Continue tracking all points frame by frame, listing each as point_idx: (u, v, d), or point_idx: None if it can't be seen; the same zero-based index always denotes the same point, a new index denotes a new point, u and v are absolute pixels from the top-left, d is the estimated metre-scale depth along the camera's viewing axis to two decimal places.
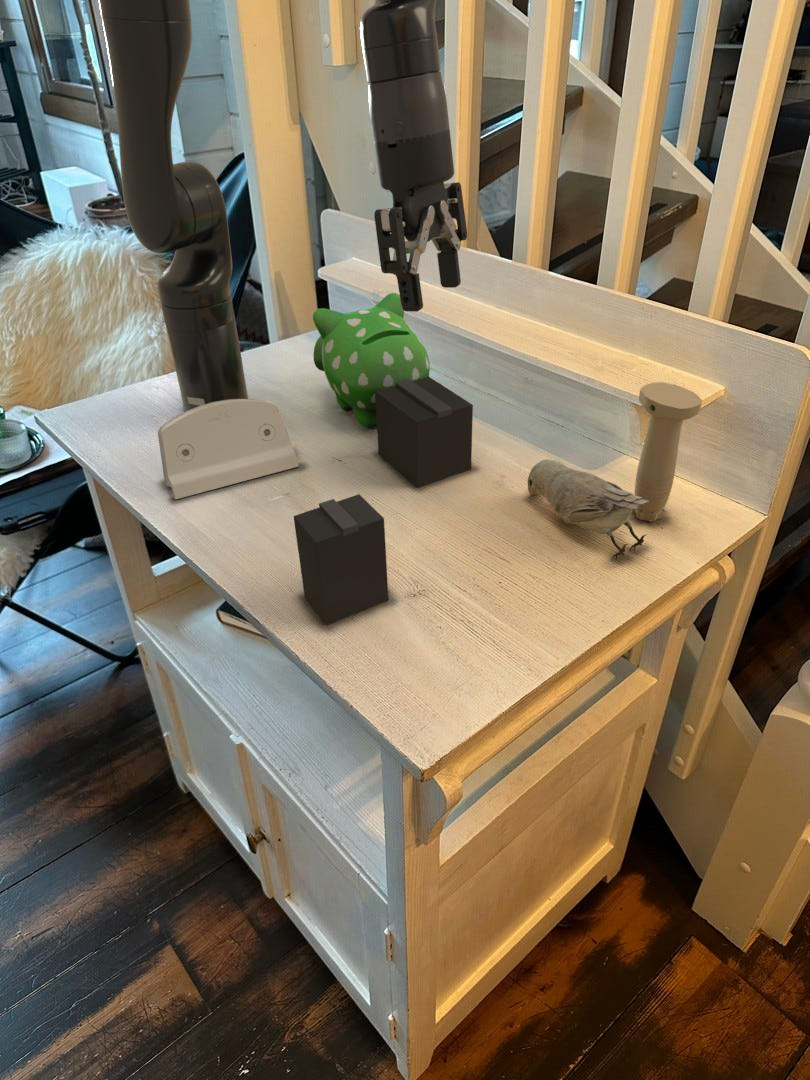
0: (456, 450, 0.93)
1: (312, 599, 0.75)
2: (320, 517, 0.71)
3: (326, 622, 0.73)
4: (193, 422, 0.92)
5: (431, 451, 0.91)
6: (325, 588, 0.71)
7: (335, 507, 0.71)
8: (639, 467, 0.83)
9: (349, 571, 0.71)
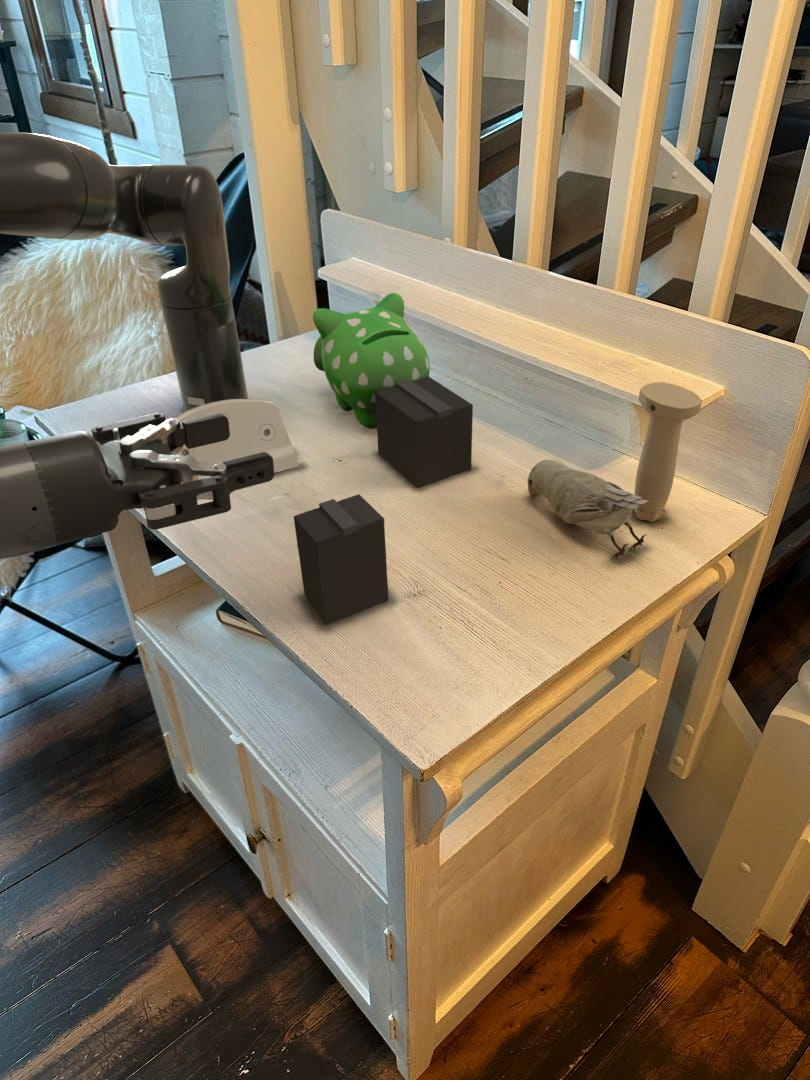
0: (456, 450, 0.93)
1: (312, 599, 0.75)
2: (320, 517, 0.71)
3: (326, 622, 0.73)
4: None
5: (431, 451, 0.91)
6: (325, 588, 0.71)
7: (335, 507, 0.71)
8: (639, 467, 0.83)
9: (349, 571, 0.71)
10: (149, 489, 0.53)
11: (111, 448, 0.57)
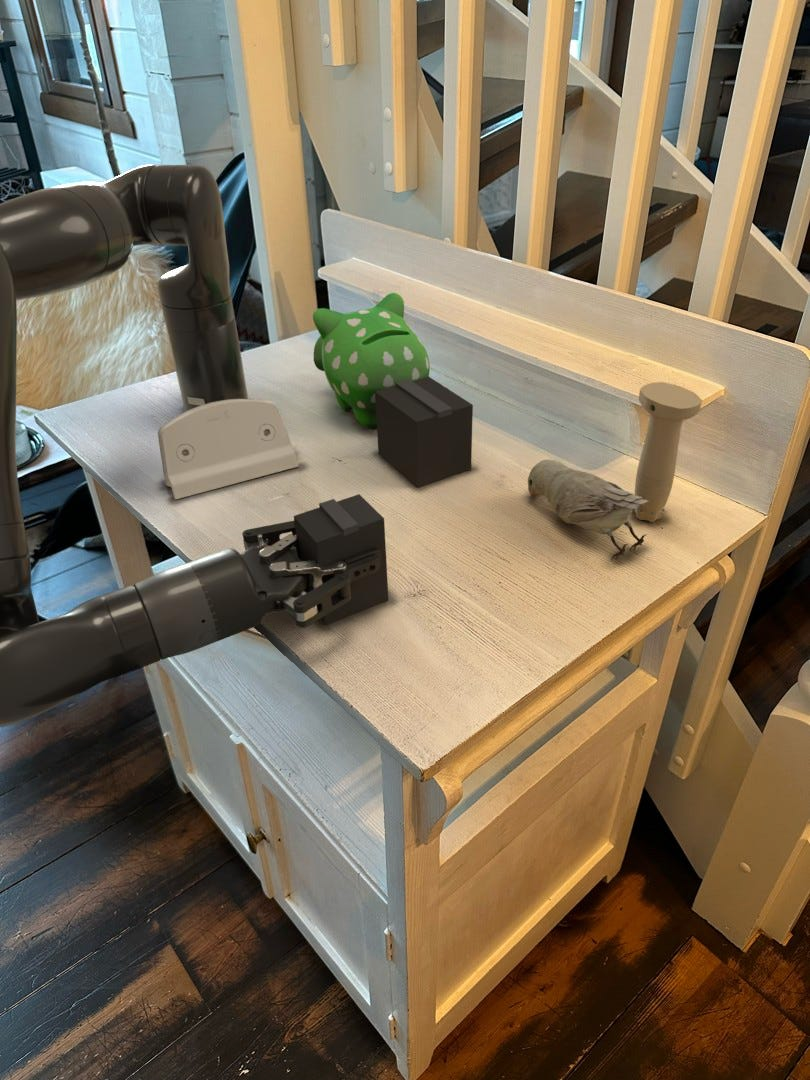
0: (456, 450, 0.93)
1: None
2: (320, 517, 0.71)
3: (326, 622, 0.73)
4: (193, 422, 0.92)
5: (431, 451, 0.91)
6: None
7: (335, 507, 0.71)
8: (639, 467, 0.83)
9: None
10: (289, 596, 0.67)
11: (250, 556, 0.71)
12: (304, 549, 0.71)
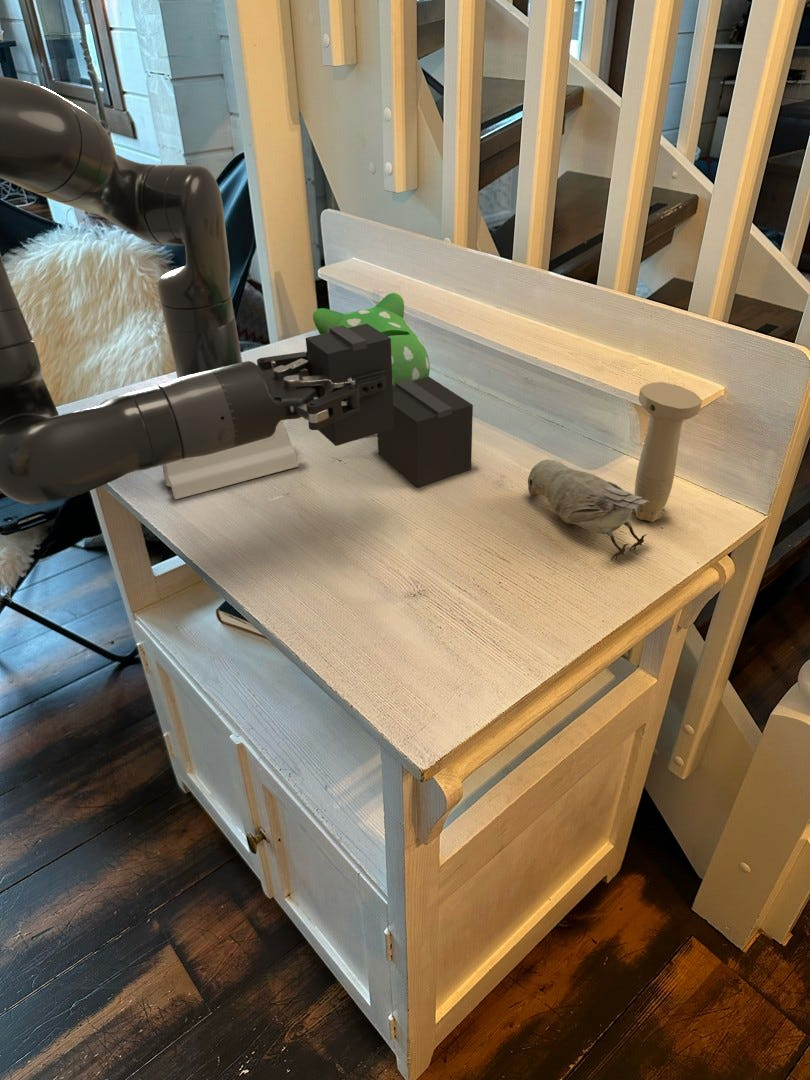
0: (456, 450, 0.93)
1: None
2: (330, 338, 0.75)
3: (336, 443, 0.78)
4: None
5: (431, 451, 0.91)
6: None
7: (345, 330, 0.76)
8: (639, 467, 0.83)
9: None
10: (302, 402, 0.71)
11: (264, 375, 0.75)
12: (315, 370, 0.76)
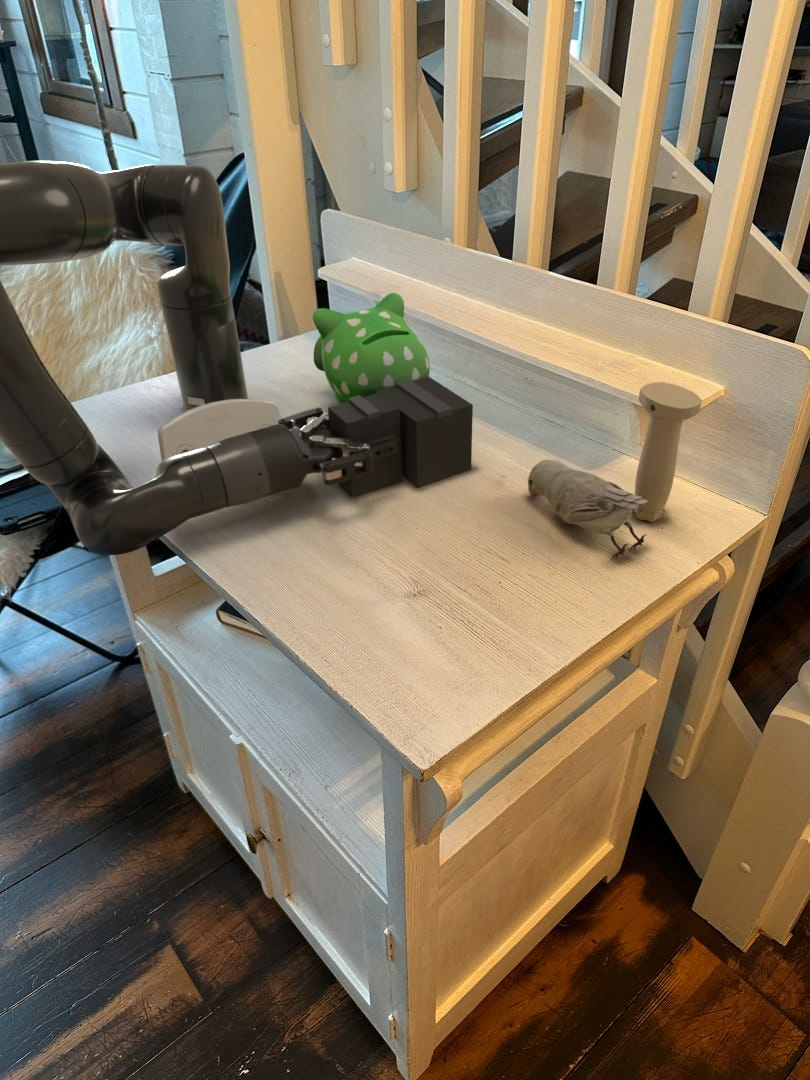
0: (456, 450, 0.93)
1: None
2: (349, 407, 0.89)
3: (353, 494, 0.92)
4: (193, 422, 0.92)
5: (431, 451, 0.91)
6: None
7: (361, 400, 0.90)
8: (639, 467, 0.83)
9: None
10: (324, 460, 0.85)
11: (294, 433, 0.89)
12: (336, 434, 0.90)
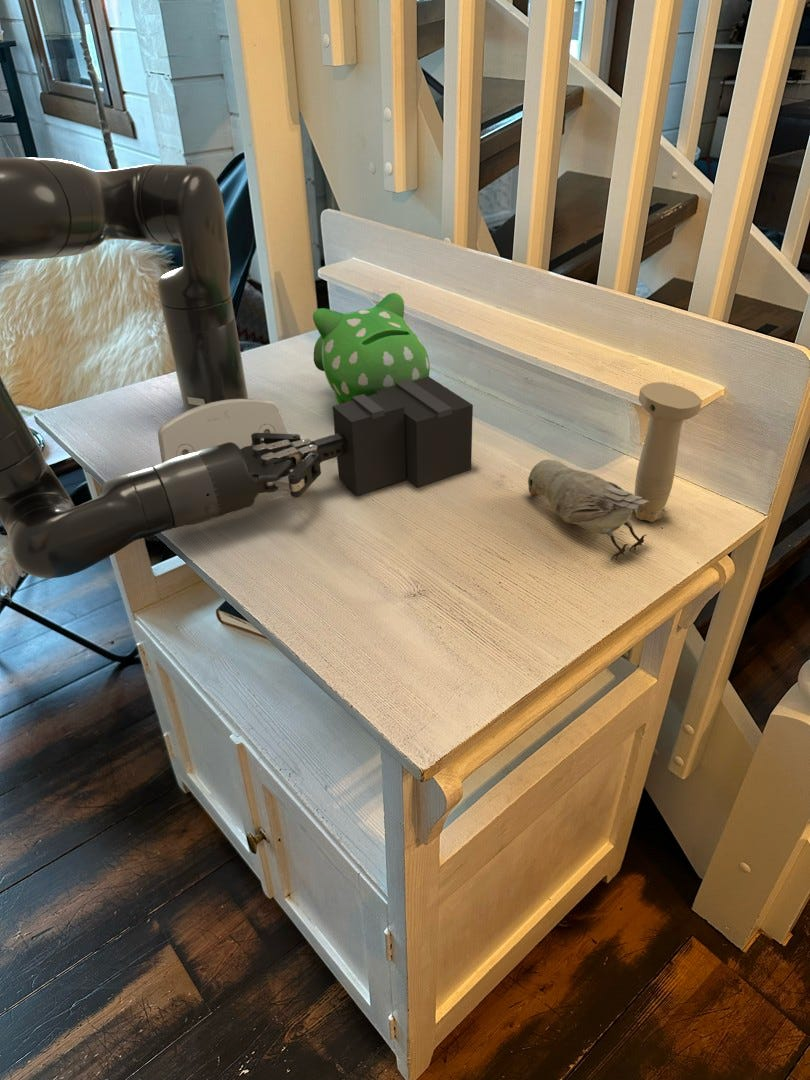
0: (456, 450, 0.93)
1: (345, 477, 0.93)
2: (353, 406, 0.89)
3: (357, 493, 0.92)
4: (193, 422, 0.92)
5: (431, 451, 0.91)
6: (357, 463, 0.89)
7: (365, 399, 0.90)
8: (639, 467, 0.83)
9: (376, 450, 0.90)
10: (279, 476, 0.83)
11: (243, 451, 0.87)
12: (340, 432, 0.90)
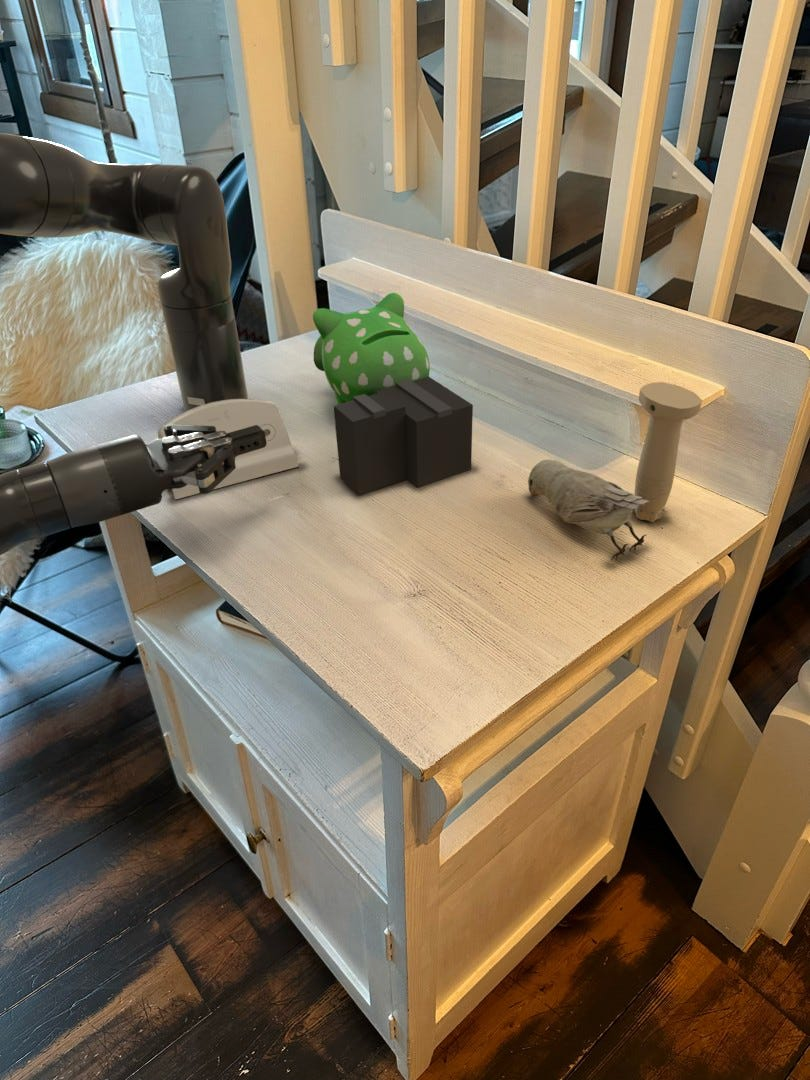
0: (456, 450, 0.93)
1: (347, 476, 0.93)
2: (354, 406, 0.89)
3: (358, 493, 0.92)
4: (193, 422, 0.92)
5: (431, 451, 0.91)
6: (358, 463, 0.90)
7: (366, 399, 0.90)
8: (639, 467, 0.83)
9: (377, 450, 0.90)
10: (187, 471, 0.77)
11: (152, 444, 0.81)
12: (341, 432, 0.90)
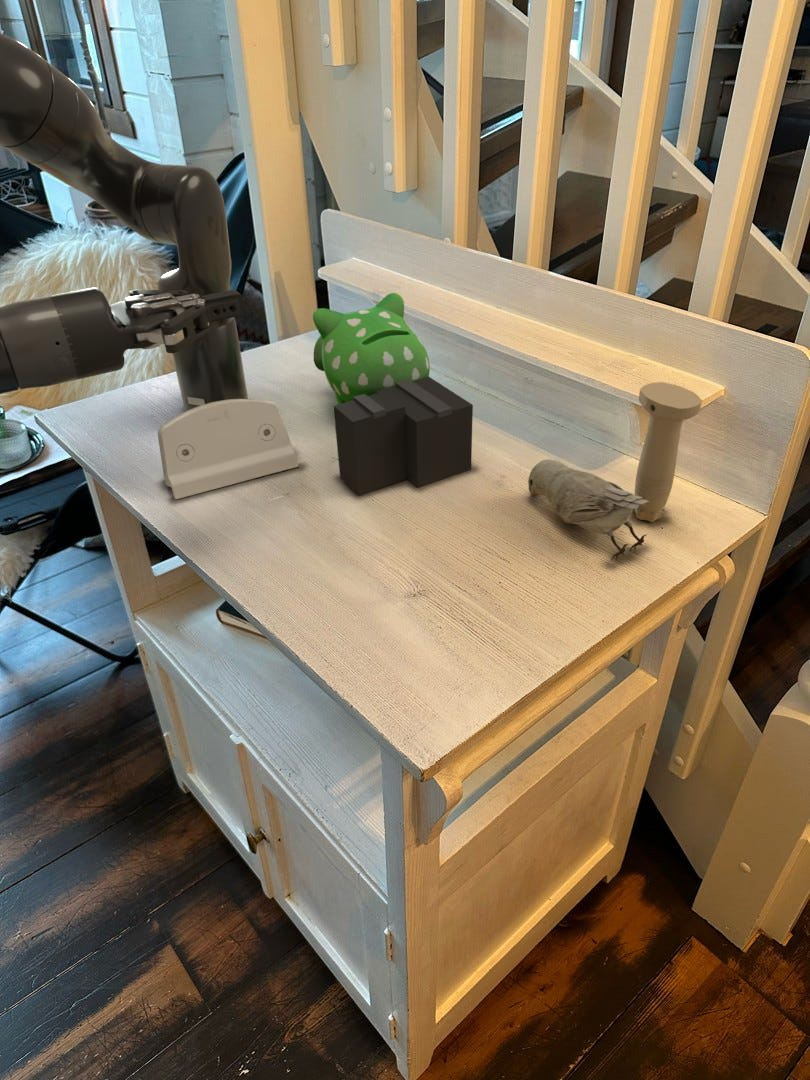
0: (456, 450, 0.93)
1: (347, 476, 0.93)
2: (354, 406, 0.89)
3: (358, 493, 0.92)
4: (193, 422, 0.92)
5: (431, 451, 0.91)
6: (358, 463, 0.90)
7: (366, 399, 0.90)
8: (639, 467, 0.83)
9: (377, 450, 0.90)
10: (152, 328, 0.68)
11: (115, 305, 0.72)
12: (341, 432, 0.90)
